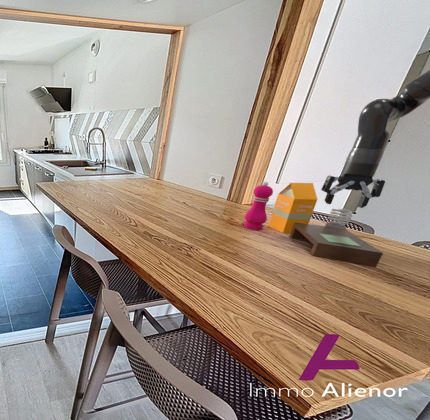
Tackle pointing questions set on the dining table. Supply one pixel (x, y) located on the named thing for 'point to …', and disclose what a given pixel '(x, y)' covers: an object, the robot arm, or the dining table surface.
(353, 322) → the dining table surface
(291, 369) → the dining table surface
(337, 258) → the shelf
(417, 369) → the dining table surface
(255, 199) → the pepper mill
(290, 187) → the orange juice
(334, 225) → the light bulb
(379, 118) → the robot arm
